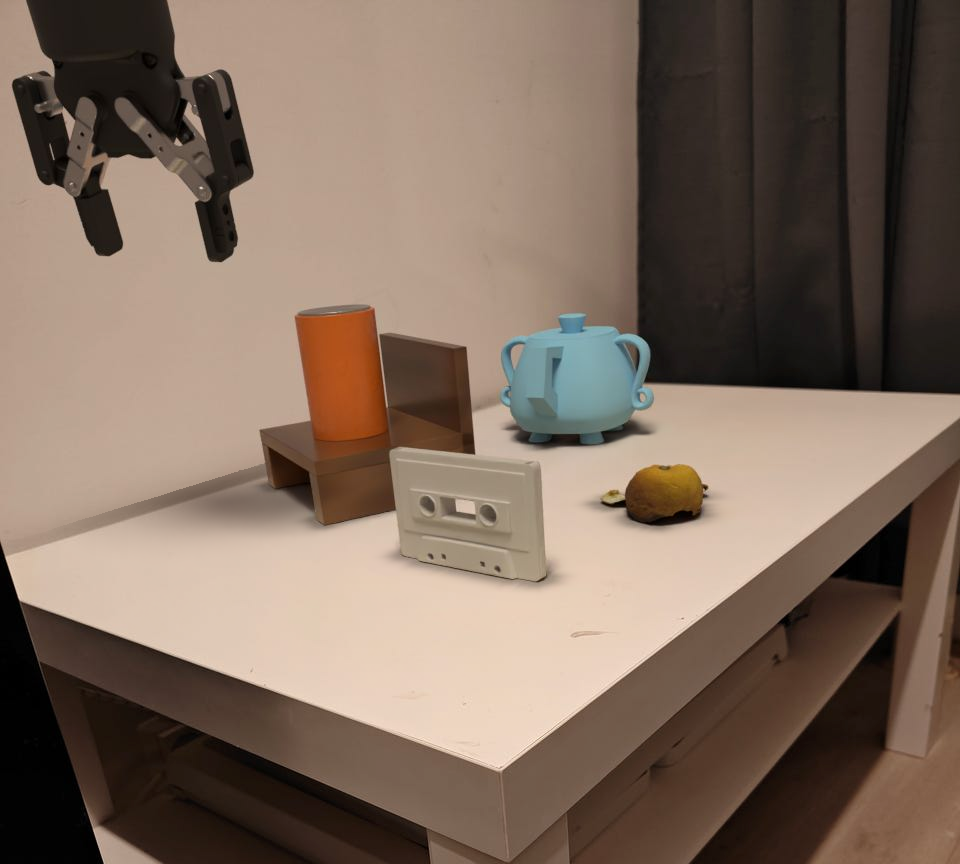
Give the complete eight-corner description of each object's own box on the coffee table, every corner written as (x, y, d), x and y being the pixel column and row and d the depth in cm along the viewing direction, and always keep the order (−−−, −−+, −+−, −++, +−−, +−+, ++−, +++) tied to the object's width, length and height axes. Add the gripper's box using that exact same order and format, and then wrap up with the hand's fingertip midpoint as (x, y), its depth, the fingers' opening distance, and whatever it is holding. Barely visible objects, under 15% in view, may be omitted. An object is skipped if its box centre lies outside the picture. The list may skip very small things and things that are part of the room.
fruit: (700, 489, 75) (701, 444, 74) (731, 520, 68) (732, 471, 66) (598, 499, 75) (597, 454, 74) (617, 531, 68) (616, 481, 66)
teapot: (622, 460, 85) (620, 325, 80) (463, 453, 93) (452, 329, 88) (684, 413, 101) (685, 298, 96) (543, 410, 109) (538, 303, 104)
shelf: (324, 525, 75) (300, 372, 70) (268, 484, 88) (245, 353, 83) (478, 491, 80) (466, 346, 75) (404, 457, 93) (390, 332, 88)
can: (327, 445, 77) (308, 316, 73) (303, 432, 83) (283, 311, 78) (400, 431, 80) (386, 306, 76) (372, 420, 85) (357, 302, 81)
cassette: (395, 557, 66) (382, 451, 63) (413, 549, 68) (400, 444, 64) (535, 585, 59) (529, 467, 56) (551, 575, 61) (546, 459, 58)
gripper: (233, -60, 52) (287, 242, 62) (23, -51, 56) (107, 233, 66) (159, -47, 47) (232, 282, 57) (-68, -37, 50) (39, 269, 61)
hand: (165, 255), depth 62 cm, fingers open, 8 cm apart
